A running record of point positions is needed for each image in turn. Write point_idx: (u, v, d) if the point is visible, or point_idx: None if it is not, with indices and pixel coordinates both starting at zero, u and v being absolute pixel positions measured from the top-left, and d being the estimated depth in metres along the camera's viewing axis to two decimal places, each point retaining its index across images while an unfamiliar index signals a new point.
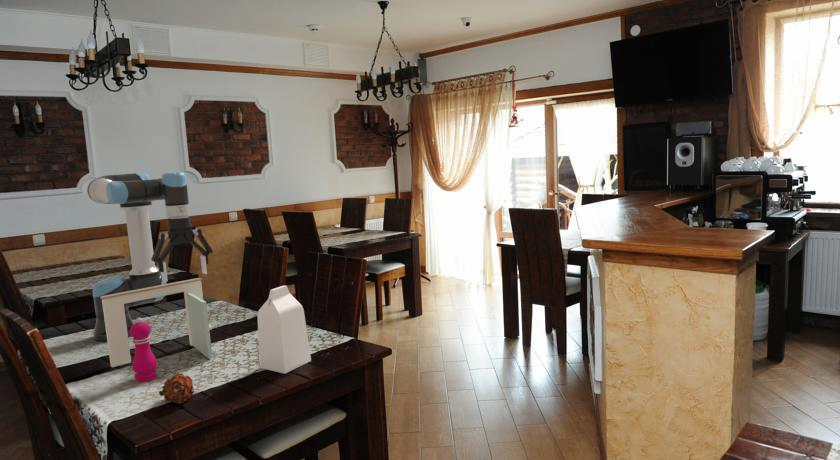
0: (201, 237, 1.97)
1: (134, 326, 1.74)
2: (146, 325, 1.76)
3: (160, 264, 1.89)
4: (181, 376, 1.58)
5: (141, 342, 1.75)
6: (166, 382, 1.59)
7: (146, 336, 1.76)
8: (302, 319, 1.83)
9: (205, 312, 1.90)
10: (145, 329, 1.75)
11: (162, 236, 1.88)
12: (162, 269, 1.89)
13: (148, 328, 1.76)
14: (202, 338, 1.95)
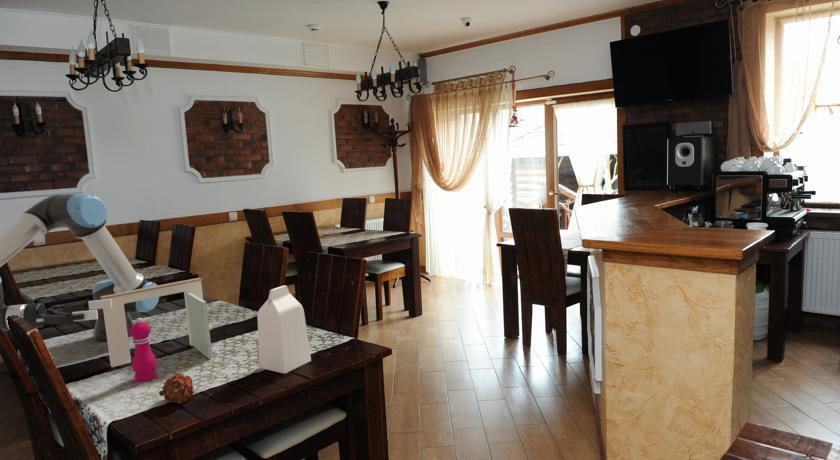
0: None
1: (134, 326, 1.74)
2: (146, 325, 1.76)
3: None
4: (181, 376, 1.58)
5: (141, 342, 1.75)
6: (166, 382, 1.59)
7: (146, 336, 1.76)
8: (302, 319, 1.83)
9: (205, 312, 1.90)
10: (145, 329, 1.75)
11: None
12: None
13: (148, 328, 1.76)
14: (202, 338, 1.95)
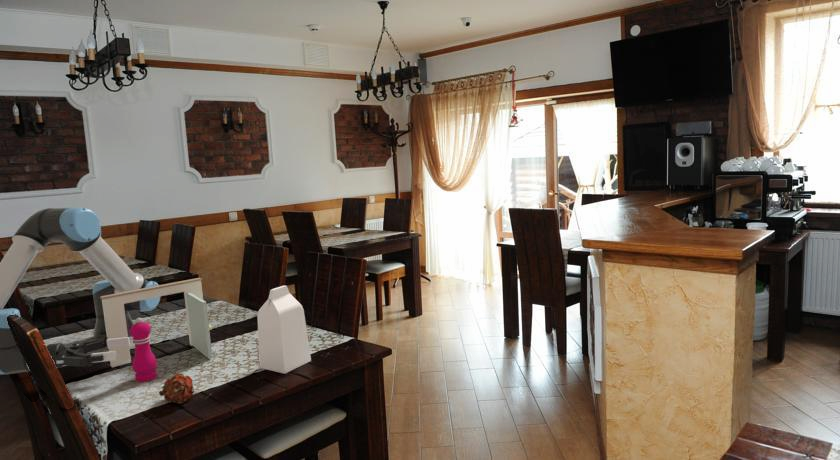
0: None
1: (134, 326, 1.74)
2: (146, 325, 1.76)
3: None
4: (181, 376, 1.58)
5: (141, 342, 1.75)
6: (166, 382, 1.59)
7: (146, 336, 1.76)
8: (302, 319, 1.83)
9: (205, 312, 1.90)
10: (145, 329, 1.75)
11: None
12: None
13: (148, 328, 1.76)
14: (202, 338, 1.95)
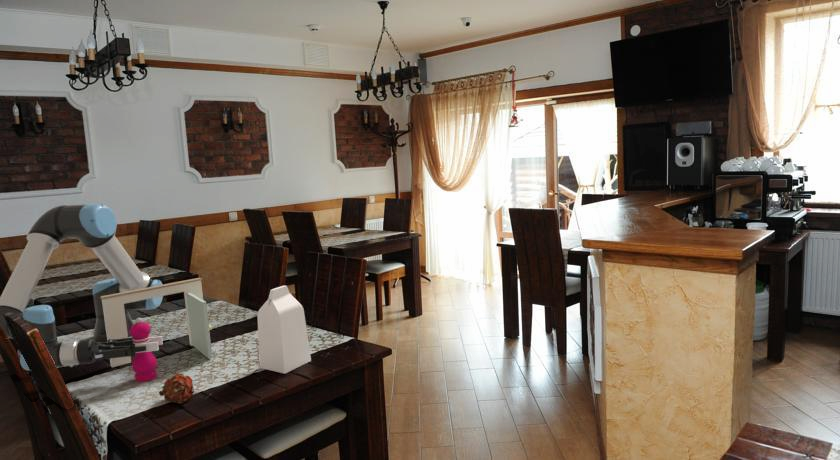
0: None
1: (134, 326, 1.74)
2: (146, 325, 1.76)
3: None
4: (181, 376, 1.58)
5: (141, 342, 1.75)
6: (166, 382, 1.59)
7: (146, 336, 1.76)
8: (302, 319, 1.83)
9: (205, 312, 1.90)
10: (145, 329, 1.75)
11: None
12: None
13: (148, 328, 1.76)
14: (202, 338, 1.95)
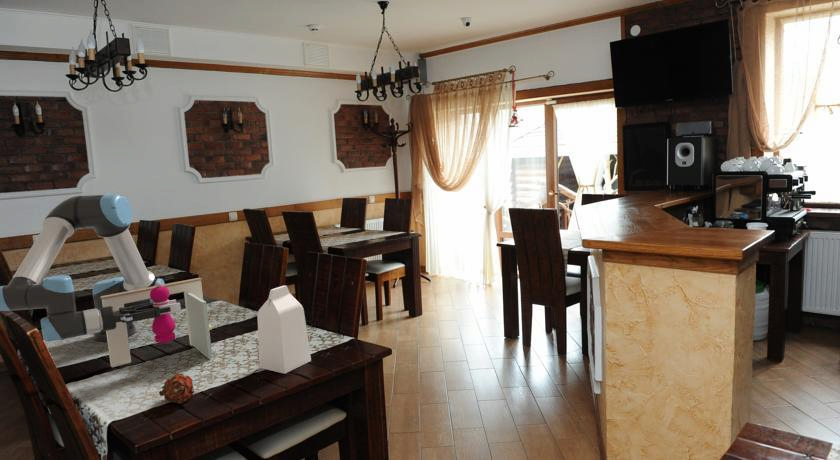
0: None
1: (156, 289, 1.83)
2: (166, 288, 1.86)
3: None
4: (181, 376, 1.58)
5: (164, 304, 1.84)
6: (166, 382, 1.59)
7: (167, 298, 1.86)
8: (302, 319, 1.83)
9: (205, 312, 1.90)
10: (167, 291, 1.85)
11: None
12: None
13: (168, 291, 1.86)
14: (202, 338, 1.95)
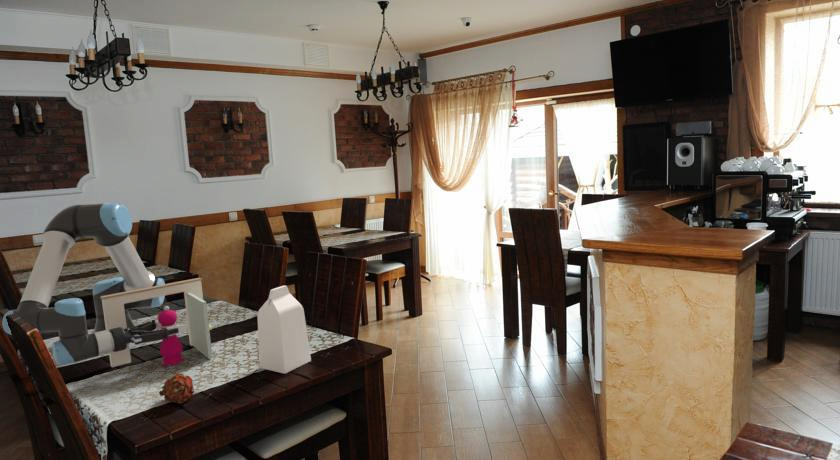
0: None
1: (165, 313, 1.87)
2: (174, 312, 1.90)
3: None
4: (181, 376, 1.58)
5: None
6: (166, 382, 1.59)
7: None
8: (302, 319, 1.83)
9: (205, 312, 1.90)
10: (175, 315, 1.89)
11: None
12: None
13: (176, 314, 1.90)
14: (202, 338, 1.95)
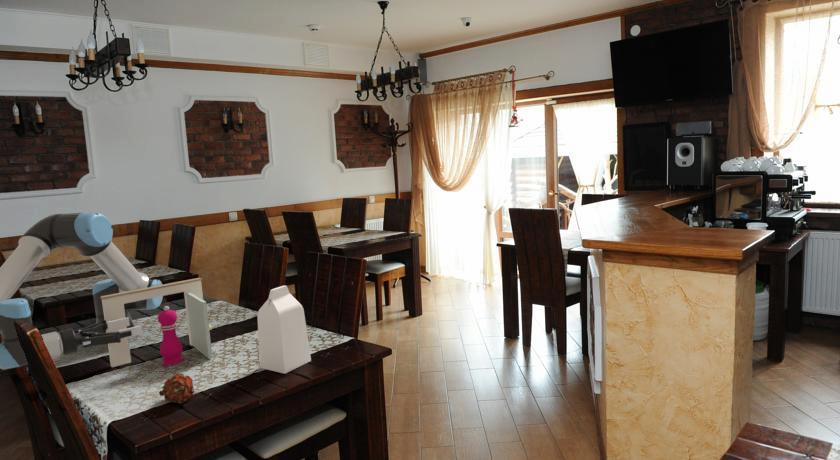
0: None
1: (165, 313, 1.87)
2: (174, 312, 1.90)
3: None
4: (181, 376, 1.58)
5: (172, 327, 1.88)
6: (166, 382, 1.59)
7: None
8: (302, 319, 1.83)
9: (205, 312, 1.90)
10: (175, 315, 1.89)
11: None
12: None
13: (176, 314, 1.90)
14: (202, 338, 1.95)
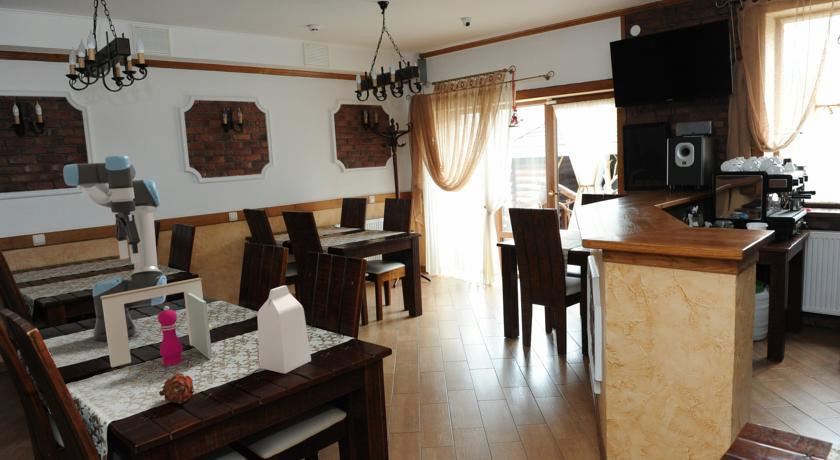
0: (127, 224, 1.89)
1: (165, 313, 1.87)
2: (174, 312, 1.90)
3: None
4: (181, 376, 1.58)
5: (172, 327, 1.88)
6: (166, 382, 1.59)
7: None
8: (302, 319, 1.83)
9: (205, 312, 1.90)
10: (175, 315, 1.89)
11: (115, 216, 1.98)
12: None
13: (176, 314, 1.90)
14: (202, 338, 1.95)
